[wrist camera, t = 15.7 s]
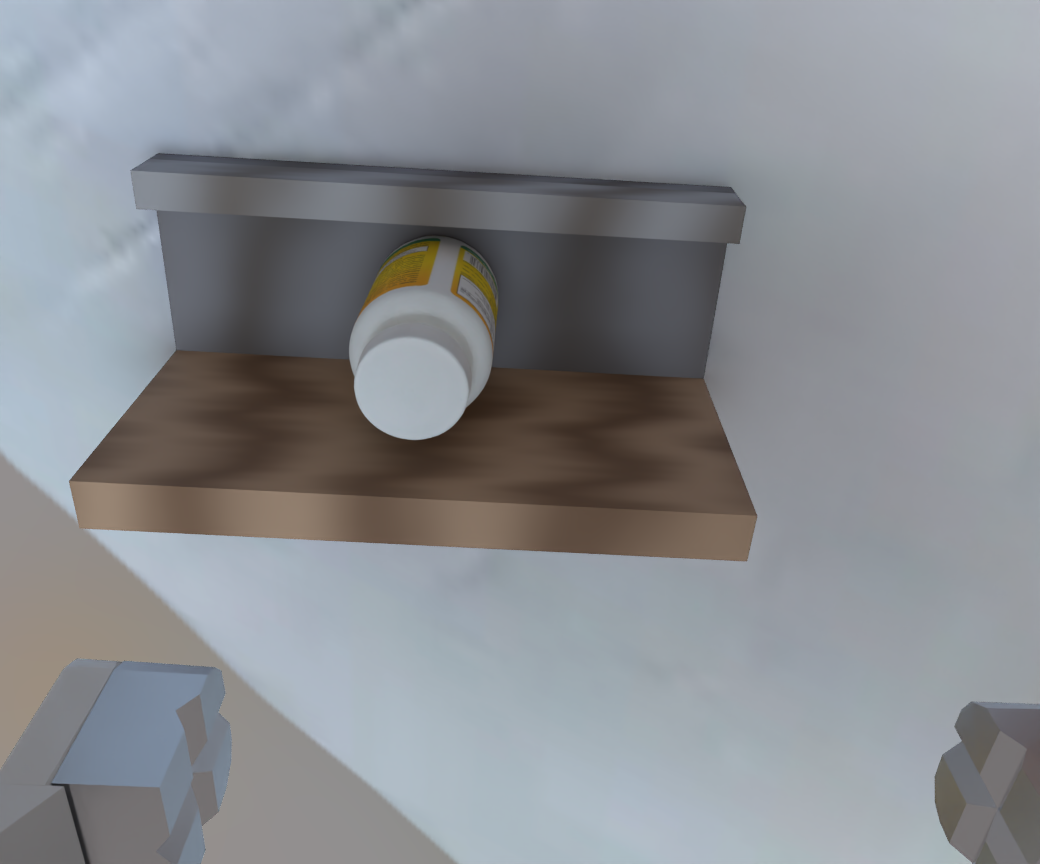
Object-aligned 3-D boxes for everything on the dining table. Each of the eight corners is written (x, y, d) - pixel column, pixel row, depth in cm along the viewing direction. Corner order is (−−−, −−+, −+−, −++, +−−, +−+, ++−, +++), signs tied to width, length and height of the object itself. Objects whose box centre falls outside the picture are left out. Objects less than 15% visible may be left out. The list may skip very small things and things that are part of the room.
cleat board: (731, 187, 38) (808, 286, 28) (693, 407, 43) (746, 561, 33) (158, 153, 37) (15, 241, 27) (189, 380, 43) (79, 528, 32)
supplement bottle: (513, 253, 38) (510, 344, 30) (479, 362, 41) (467, 474, 33) (390, 216, 38) (352, 298, 29) (363, 329, 40) (320, 435, 32)
